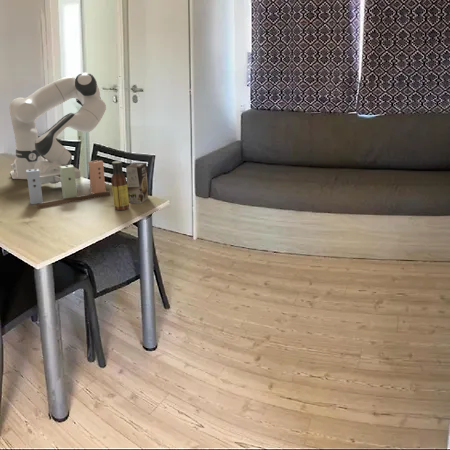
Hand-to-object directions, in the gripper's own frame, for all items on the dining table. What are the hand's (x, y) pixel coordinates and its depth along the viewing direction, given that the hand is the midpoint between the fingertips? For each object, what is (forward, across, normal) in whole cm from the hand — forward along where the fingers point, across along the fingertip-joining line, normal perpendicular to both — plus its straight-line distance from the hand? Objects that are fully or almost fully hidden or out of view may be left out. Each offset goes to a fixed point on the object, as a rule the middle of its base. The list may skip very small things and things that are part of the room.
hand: (63, 179), depth 244 cm
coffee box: (+25, +24, +8) cm, 35 cm away
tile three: (+5, +14, +7) cm, 16 cm away
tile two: (+5, -14, +7) cm, 17 cm away
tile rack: (+7, 0, +8) cm, 10 cm away
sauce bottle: (+31, +12, +8) cm, 34 cm away
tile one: (+7, 0, +7) cm, 9 cm away
